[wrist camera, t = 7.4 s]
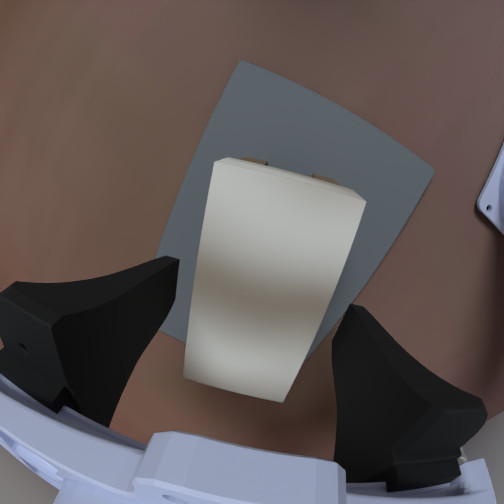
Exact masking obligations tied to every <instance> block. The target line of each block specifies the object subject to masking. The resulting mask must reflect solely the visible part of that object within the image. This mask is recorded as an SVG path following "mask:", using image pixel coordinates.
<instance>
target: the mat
mask: <svg viewBox="0 0 504 504" xmlns="http://www.w3.org/2000/svg"><path fill="white" fill-rule="evenodd" d="M244 156H246V157H250V158H254V159H259V160H263V161H267V165H266V166H270V167H274V168H278V169H282V170H286V171H290V172H294V173H298V174H301V175H305V176H309V177H312V174H317V175H320V176H324V177H327V178H331V179H334V180H336V181H337V182H338V183H339V184H340V185H341V186H343V187H346V188H349V189H353V190H354V191H355V192H356V193H357V194H358V195H359V196H361V197H362V198H363V199H364V200H365V201H366V205H365V208H364V211H363V214H362V217H361V220H360V223H359V226H358V229H357V232H356V234H355V237H354V240H353V243H352V246H351V249H350V251H349V254H348V257H347V259H346V262H345V265H344V267H343V270H342V273H341V275H340V278H339V280H338V283H337V285H336V288H335V290H334V293H333V295H332V298H331V300H330V303H329V305H328V307H327V310H326V312H325V315H324V317H323V319H322V322H321V324H320V326H319V328H318V331H317V333H316V335H315V337H314V340H313V342H312V344H311V346H310V348H309V350H308V353H307V355H306V357H305V359H304V361H303V363H304V362H305V361H306V360H307V358H308V357H309V356H310V355H311V354H312V353H313V351H314V350H315V349H316V348H317V347H318V345H319V344H320V343H321V342H322V341H323V339H324V338H325V337H326V336H327V334H328V333H329V332H330V331H331V329H332V328H333V327H334V326H335V324H336V323H337V322H338V320H339V319H340V318H341V317H342V315H343V314H344V313H345V311H346V310H347V308H348V306H349V304H351V303H352V302H353V301H354V299H355V298H356V297H357V295H358V294H359V292H360V291H361V290H362V288H363V287H364V286H365V284H366V283H367V281H368V280H369V278H370V277H371V276H372V274H373V273H374V271H375V270H376V268H377V267H378V265H379V264H380V262H381V261H382V259H383V258H384V256H385V255H386V253H387V252H388V250H389V249H390V247H391V246H392V244H393V243H394V241H395V239H396V238H397V236H398V235H399V233H400V231H401V230H402V228H403V227H404V225H405V223H406V222H407V220H408V218H409V217H410V215H411V213H412V212H413V210H414V208H415V206H416V205H417V203H418V201H419V200H420V198H421V196H422V194H423V192H424V191H425V189H426V187H427V185H428V183H429V181H430V180H431V178H432V176H433V174H434V172H435V169H433V168H432V167H431V166H430V165H428V164H427V163H426V162H424V161H423V160H422V159H420V158H419V157H418V156H416V155H415V154H414V153H412V152H411V151H410V150H408V149H407V148H406V147H404V146H403V145H401V144H400V143H399V142H397V141H396V140H394V139H393V138H391V137H390V136H388V135H387V134H385V133H384V132H382V131H381V130H379V129H378V128H376V127H375V126H373V125H371V124H370V123H368V122H367V121H365V120H363V119H362V118H360V117H358V116H357V115H355V114H353V113H352V112H350V111H348V110H347V109H345V108H343V107H341V106H340V105H338V104H336V103H334V102H332V101H330V100H329V99H327V98H325V97H323V96H321V95H319V94H317V93H315V92H313V91H311V90H309V89H307V88H305V87H303V86H301V85H299V84H297V83H295V82H293V81H291V80H288V79H286V78H284V77H282V76H279V75H277V74H275V73H273V72H270V71H268V70H265V69H263V68H261V67H258V66H256V65H253V64H250V63H248V62H245V61H243V60H240V61H239V63H238V65H237V67H236V69H235V71H234V72H233V74H232V76H231V78H230V80H229V82H228V84H227V86H226V88H225V90H224V92H223V94H222V96H221V98H220V100H219V102H218V104H217V106H216V108H215V110H214V112H213V115H212V117H211V119H210V121H209V123H208V125H207V127H206V130H205V132H204V134H203V136H202V138H201V141H200V143H199V145H198V148H197V150H196V152H195V154H194V157H193V159H192V161H191V164H190V166H189V169H188V171H187V173H186V176H185V178H184V181H183V183H182V186H181V188H180V191H179V193H178V196H177V199H176V201H175V204H174V206H173V209H172V212H171V214H170V217H169V220H168V222H167V225H166V228H165V231H164V234H163V236H162V239H161V242H160V245H159V248H158V251H157V254H156V257H155V259H156V258H159V257H162V256H166V255H167V256H170V257H174V258H177V259H180V263H179V271H178V280H177V289H176V299H175V302H174V304H173V306H172V308H171V310H170V312H169V314H168V316H167V318H166V319H165V321H164V322H163V324H162V325H161V327H160V328H159V330H160V331H162V332H164V333H166V334H168V335H170V336H172V337H174V338H176V339H178V340H180V341H182V342H184V343H186V341H187V332H188V324H189V315H190V308H191V300H192V292H193V285H194V278H195V271H196V264H197V258H198V251H199V245H200V239H201V233H202V227H203V221H204V215H205V209H206V203H207V198H208V192H209V187H210V182H211V176H212V171H213V166H214V162H215V161H218V160H221V159H224V158H227V157H231V158H235V159H239V158H242V157H244ZM303 363H302V364H303Z"/></svg>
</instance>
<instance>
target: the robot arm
mask: <svg viewBox="0 0 504 504" xmlns="http://www.w3.org/2000/svg"><path fill="white" fill-rule="evenodd" d="M487 206H488V210H487V211H486V208H487ZM477 208H478V209H479V210H480V211H481V212H482V213H483V214H484V215H485V216H486V217H487V218H488V219H489V220H490V221H491V222H492V223H493V225H494V226H495V227H496V228H497V229H498V230H499V231H500V232H501V233H502V234H503V235H504V142H503V145H502V147H501V150H500V152H499V155H498V157H497V159H496V162H495V164H494V166H493V168H492V171H491V173H490V175H489V177H488V179H487V181H486V184H485V186H484V188H483V190H482V192H481V194H480V196H479V198H478V200H477ZM179 263H180V259H177V258H174V257H170V256H167V255H166V256H162V257H159V258H156V259H154V260H151V261H148V262H146V263H143V264H140V265H138V266H135V267H132V268H129V269H126V270H123V271H120V272H117V273H114V274H110V275H106V276H102V277H98V278H93V279H88V280H81V281H73V282H63V283H31V282H18V281H16V282H14V283H13V284H11V285H10V286H9V287H7V288H6V289H5V290H3V291H2V292H1V293H0V337H1V340H2V342H3V345H4V348H3V349H1V350H0V444H1V445H2V446H3V447H4V448H5V449H6V450H8V451H9V452H10V453H11V454H12V455H13V456H15V457H16V458H17V459H18V460H19V461H21V462H22V463H23V464H24V465H26V466H27V467H28V468H30V469H31V470H32V471H33V472H35V473H36V474H38V475H39V476H40V477H42V478H43V479H44V480H46V481H47V482H49V483H50V484H51V485H53V486H54V487H56V488H57V489H59V490H60V491H59V493H58V495H57V497H56V499H55V501H54V503H53V504H497V502H496V498H495V494H494V490H493V487H492V483H491V479H490V476H489V473H488V469H487V466H486V463H485V460H484V458H479V459H475V460H470V461H467V462H464V463H462V464H460V465H459V463H458V460H457V459H458V458H460V457H461V455H462V453H461V450H460V448H461V447H462V446H463V445H464V444H465V443H466V442H467V441H468V440H470V439H471V438H472V437H473V436H474V435H475V434H476V433H477V432H478V431H479V430H480V429H481V428H482V426H483V425H484V423H485V421H486V419H487V416H488V414H487V410H486V408H485V406H484V404H483V402H482V400H481V399H480V398H478V397H476V396H474V395H472V394H469V393H467V392H465V391H463V390H460V389H459V388H457V387H455V386H453V385H451V384H450V383H448V382H446V381H444V380H443V379H441V378H440V377H438V376H437V375H435V374H434V373H432V372H431V371H430V370H428V369H427V368H425V367H424V366H423V365H422V364H420V363H419V362H418V361H417V360H416V359H414V358H413V357H412V356H411V355H410V354H409V353H408V352H406V351H405V350H404V349H403V348H402V347H401V346H400V345H399V344H398V343H397V342H396V341H395V340H394V339H393V338H392V337H391V335H390V334H389V333H388V332H387V331H386V330H385V329H384V328H383V327H382V326H381V325H380V323H379V322H378V321H377V320H376V319H375V318H374V317H373V316H372V315H371V314H370V313H369V312H368V311H367V310H366V309H365V308H364V307H362V306H358V305H354V304H349V306H348V308H347V311H346V313H345V315H344V317H343V319H342V321H341V323H340V326H339V328H338V330H337V332H336V334H335V336H334V338H333V340H332V367H333V376H334V384H335V392H336V401H337V430H336V443H335V453H334V460H333V461H332V460H327V459H322V458H318V457H313V456H303V455H295V454H288V453H281V452H275V451H269V450H263V449H258V448H252V447H248V446H243V445H238V444H234V443H230V442H225V441H221V440H217V439H214V438H210V437H206V436H203V435H199V434H193V433H187V432H182V431H177V430H175V431H166V432H158V433H154V435H153V436H152V438H151V439H150V441H149V443H148V445H146V444H144V443H141V442H138V441H136V440H134V439H131V438H129V437H126V436H124V435H122V434H120V433H117V432H115V431H113V430H111V429H109V425H110V422H111V420H112V417H113V414H114V412H115V409H116V407H117V404H118V402H119V400H120V397H121V395H122V393H123V390H124V388H125V386H126V384H127V382H128V379H129V377H130V375H131V373H132V371H133V369H134V367H135V365H136V363H137V361H138V360H139V358H140V356H141V355H142V353H143V352H144V350H145V349H146V347H147V346H148V344H149V343H150V341H151V340H152V339H153V337H154V336H155V334H156V333H157V331H158V330H159V328H160V327H161V325H162V324H163V322H164V321H165V319H166V318H167V316H168V314H169V312H170V310H171V308H172V306H173V304H174V302H175V299H176V289H177V280H178V271H179Z"/></svg>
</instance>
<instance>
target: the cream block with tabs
mask: <svg viewBox="0 0 504 504" xmlns="http://www.w3.org/2000/svg"><path fill="white" fill-rule="evenodd" d="M266 165H267V161H263V160H259V159H254V158H250V157H246V156H244V157H242V158H239V159H235V158H231V157H227V158H224V159H221V160H218V161H215V162H214V166H213V171H212V176H211V182H210V187H209V192H208V198H207V203H206V209H205V215H204V221H203V227H202V233H201V239H200V245H199V251H198V258H197V264H196V271H195V278H194V285H193V292H192V300H191V308H190V315H189V324H188V332H187V341H186V350H185V359H184V369H183V378H186V379H189V380H192V381H196V382H199V383H202V384H206V385H209V386H213V387H217V388H220V389H224V390H228V391H232V392H236V393H240V394H244V395H249V396H253V397H257V398H262V399H267V400H272V401H277V402H282V403H283V401H284V399H285V397H286V395H287V393H288V392H289V390H290V388H291V386H292V384H293V382H294V380H295V378H296V376H297V374H298V372H299V369H300V367H301V365H302V363H303V361H304V359H305V357H306V355H307V353H308V350H309V348H310V346H311V344H312V342H313V340H314V337H315V335H316V333H317V331H318V328H319V326H320V324H321V322H322V319H323V317H324V315H325V312H326V310H327V307H328V305H329V303H330V300H331V298H332V295H333V293H334V290H335V288H336V285H337V283H338V280H339V278H340V275H341V273H342V270H343V267H344V265H345V262H346V259H347V257H348V254H349V251H350V249H351V246H352V243H353V240H354V237H355V234H356V232H357V229H358V226H359V223H360V220H361V217H362V214H363V211H364V208H365V205H366V201H365V200H364V199H363V198H362V197H361V196H359V195H358V194H357V193H356V192H355V191H354V190H353V189H349V188H346V187H343V186H341V185H340V184H339V183H338V182H337V181H336V180H334V179H331V178H327V177H324V176H320V175H317V174H312V177H309V176H305V175H301V174H298V173H294V172H290V171H286V170H282V169H278V168H274V167H270V166H266Z"/></svg>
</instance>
